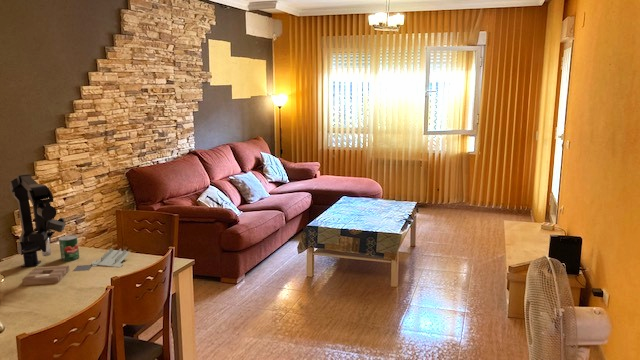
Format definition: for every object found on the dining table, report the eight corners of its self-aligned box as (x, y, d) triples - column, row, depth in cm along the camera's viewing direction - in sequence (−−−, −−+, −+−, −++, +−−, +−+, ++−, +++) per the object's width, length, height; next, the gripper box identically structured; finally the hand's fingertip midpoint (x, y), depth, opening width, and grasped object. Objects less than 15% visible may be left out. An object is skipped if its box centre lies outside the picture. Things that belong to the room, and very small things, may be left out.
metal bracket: (106, 244, 244) (134, 248, 241) (109, 255, 247) (137, 258, 244) (88, 262, 232) (117, 265, 229) (91, 272, 234) (120, 276, 231)
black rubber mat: (77, 266, 234) (77, 265, 234) (93, 265, 235) (93, 264, 235) (72, 272, 227) (72, 271, 227) (89, 271, 228) (88, 270, 228)
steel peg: (44, 254, 220) (42, 236, 218) (52, 253, 220) (50, 235, 219) (41, 256, 217) (39, 238, 215) (49, 256, 217) (47, 238, 216)
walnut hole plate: (36, 273, 226) (35, 266, 225) (69, 271, 228) (68, 264, 227) (23, 286, 212) (22, 278, 211) (58, 283, 214) (57, 276, 213)
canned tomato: (68, 256, 248) (66, 234, 246) (83, 257, 246) (80, 235, 244) (57, 261, 240) (54, 239, 238) (72, 262, 239) (69, 240, 237)
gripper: (54, 220, 207) (58, 256, 210) (69, 208, 225) (72, 242, 228) (25, 221, 206) (29, 258, 209) (42, 210, 224) (46, 244, 227)
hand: (46, 250), depth 218 cm, fingers closed on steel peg, 3 cm apart
